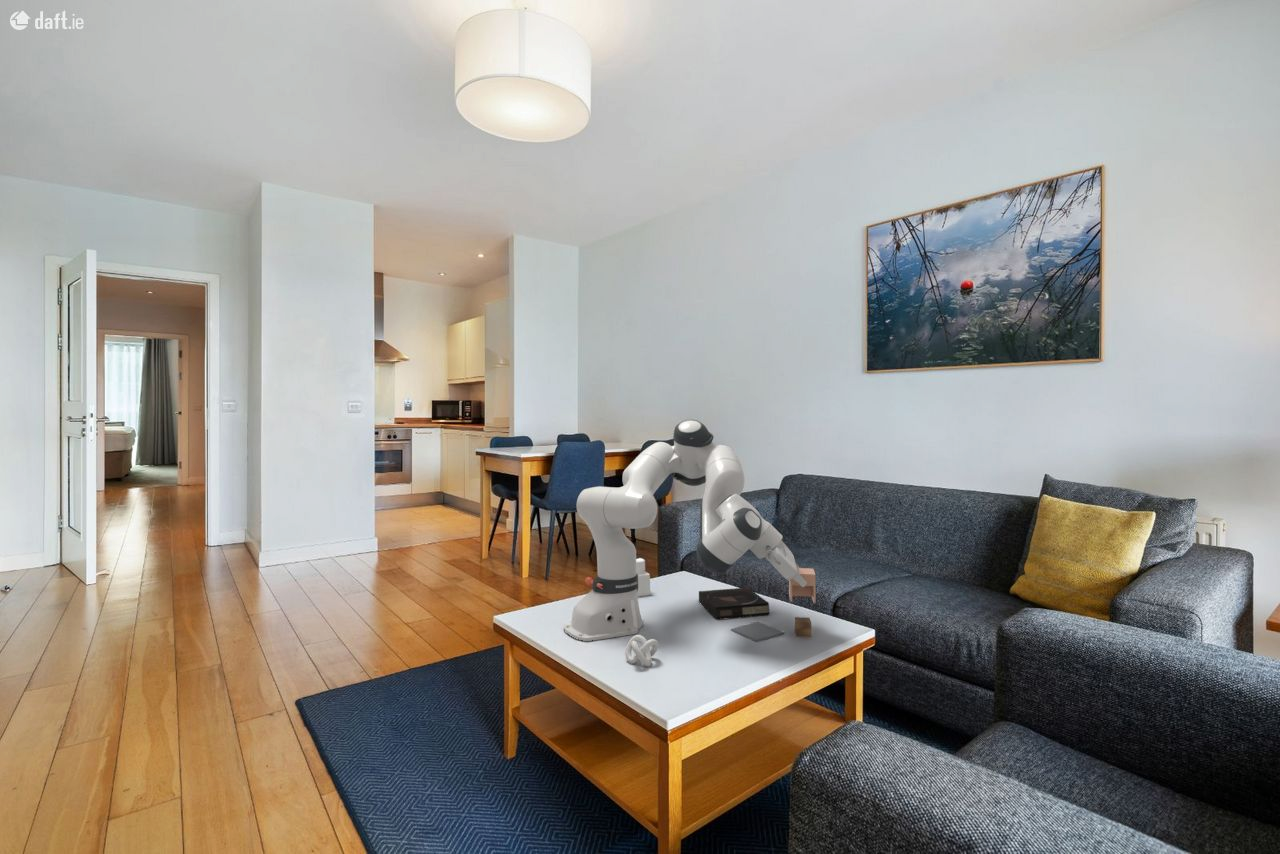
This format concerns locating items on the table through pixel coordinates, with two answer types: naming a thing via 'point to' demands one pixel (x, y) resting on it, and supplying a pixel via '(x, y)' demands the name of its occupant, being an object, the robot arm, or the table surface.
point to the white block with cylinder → (642, 578)
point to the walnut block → (802, 627)
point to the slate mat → (757, 631)
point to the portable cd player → (733, 603)
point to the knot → (641, 650)
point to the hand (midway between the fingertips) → (804, 580)
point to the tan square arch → (809, 589)
